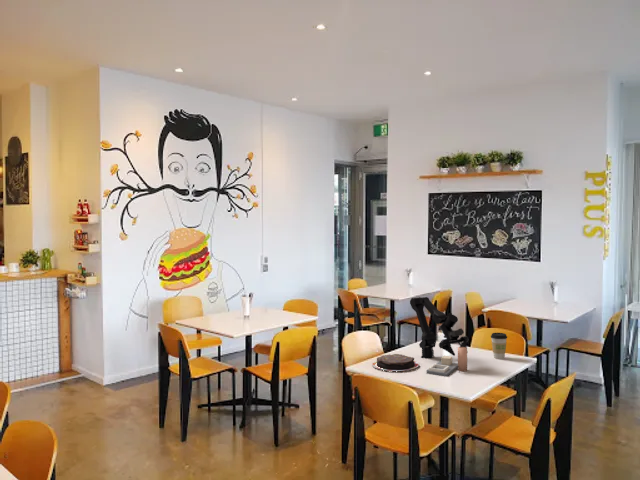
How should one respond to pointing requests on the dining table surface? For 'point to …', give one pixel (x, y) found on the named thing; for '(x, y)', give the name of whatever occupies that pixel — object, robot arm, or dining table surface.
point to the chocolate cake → (395, 363)
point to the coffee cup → (499, 345)
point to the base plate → (443, 367)
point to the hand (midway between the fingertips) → (460, 354)
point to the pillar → (462, 359)
